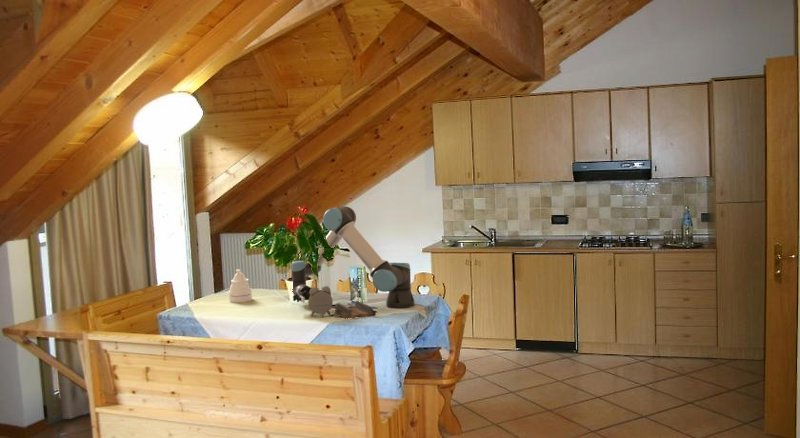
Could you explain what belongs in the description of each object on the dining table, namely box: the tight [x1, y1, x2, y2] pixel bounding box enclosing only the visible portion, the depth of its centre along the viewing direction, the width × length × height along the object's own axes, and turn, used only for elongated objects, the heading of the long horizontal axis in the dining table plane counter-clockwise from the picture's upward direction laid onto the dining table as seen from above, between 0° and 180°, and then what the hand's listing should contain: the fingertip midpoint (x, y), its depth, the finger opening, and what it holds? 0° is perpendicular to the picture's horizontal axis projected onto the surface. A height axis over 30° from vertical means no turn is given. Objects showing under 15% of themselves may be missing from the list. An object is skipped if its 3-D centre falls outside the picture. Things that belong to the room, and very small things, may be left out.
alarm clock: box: [307, 285, 334, 318], centre depth 346 cm, size 12×7×15 cm, turn 108°
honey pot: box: [228, 269, 253, 303], centre depth 398 cm, size 13×13×18 cm
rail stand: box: [334, 300, 374, 320], centre depth 350 cm, size 14×18×4 cm
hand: (316, 298), depth 350 cm, fingers open, 13 cm apart
